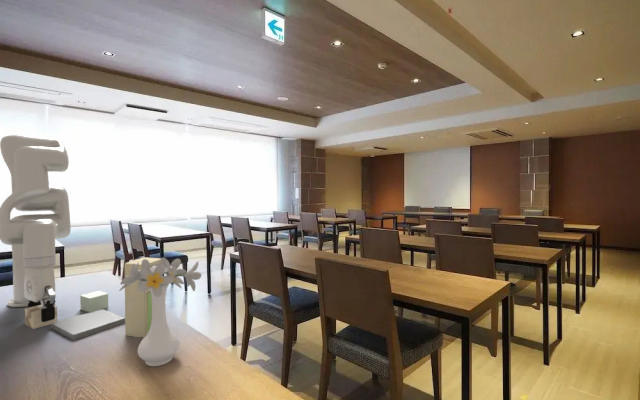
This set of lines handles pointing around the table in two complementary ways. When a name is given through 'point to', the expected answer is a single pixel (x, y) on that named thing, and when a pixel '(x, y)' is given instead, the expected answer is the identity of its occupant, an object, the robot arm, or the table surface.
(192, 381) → the table surface
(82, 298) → the sage block
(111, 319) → the base plate
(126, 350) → the table surface
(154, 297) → the flower vase
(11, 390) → the table surface
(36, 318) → the birch block
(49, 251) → the robot arm
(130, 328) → the toy refrigerator
